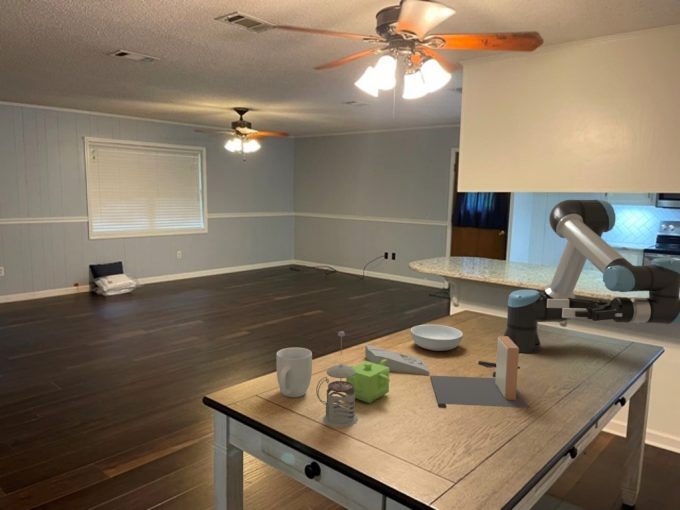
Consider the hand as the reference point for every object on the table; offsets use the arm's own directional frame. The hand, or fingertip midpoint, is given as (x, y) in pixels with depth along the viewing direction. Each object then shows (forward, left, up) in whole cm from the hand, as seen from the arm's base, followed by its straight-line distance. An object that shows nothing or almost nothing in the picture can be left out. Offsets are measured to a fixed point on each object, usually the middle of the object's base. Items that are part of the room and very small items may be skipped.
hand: (554, 307), depth 146 cm
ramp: (-22, -47, -29) cm, 59 cm away
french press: (+22, -64, -28) cm, 74 cm away
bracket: (-19, -11, -29) cm, 36 cm away
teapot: (+6, -56, -28) cm, 63 cm away
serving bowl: (-45, -29, -28) cm, 61 cm away
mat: (0, -22, -28) cm, 36 cm away
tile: (0, -13, -27) cm, 30 cm away
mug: (+7, -79, -28) cm, 84 cm away
